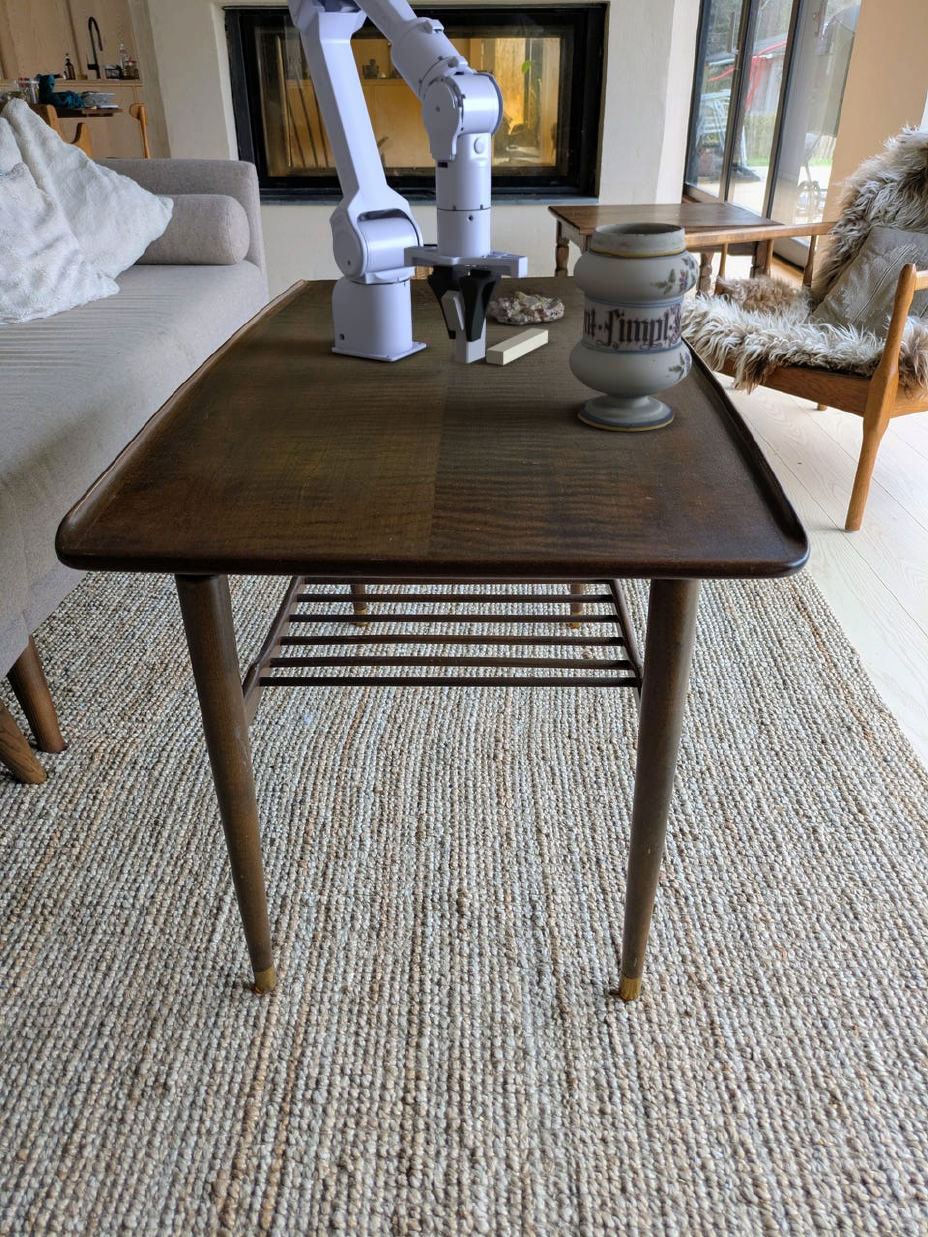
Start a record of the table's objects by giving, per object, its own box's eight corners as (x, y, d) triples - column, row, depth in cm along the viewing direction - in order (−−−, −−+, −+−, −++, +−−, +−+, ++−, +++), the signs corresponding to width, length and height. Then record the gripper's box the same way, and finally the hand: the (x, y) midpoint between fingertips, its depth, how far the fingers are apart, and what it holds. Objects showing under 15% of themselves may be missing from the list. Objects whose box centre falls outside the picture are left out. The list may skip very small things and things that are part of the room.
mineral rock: (495, 310, 123) (488, 282, 128) (492, 339, 126) (485, 310, 132) (572, 310, 124) (562, 282, 130) (568, 339, 127) (558, 310, 133)
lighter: (472, 354, 106) (474, 282, 102) (485, 356, 105) (487, 283, 101) (440, 366, 101) (440, 291, 97) (453, 368, 100) (454, 293, 96)
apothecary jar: (562, 397, 98) (571, 217, 89) (673, 397, 98) (694, 217, 88) (570, 435, 88) (580, 237, 78) (694, 436, 87) (720, 236, 78)
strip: (486, 362, 110) (486, 349, 109) (531, 340, 119) (531, 327, 118) (503, 365, 109) (503, 351, 108) (547, 342, 118) (548, 329, 117)
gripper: (385, 207, 95) (391, 338, 102) (505, 216, 89) (503, 355, 96) (421, 200, 100) (425, 325, 107) (538, 207, 94) (534, 340, 101)
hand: (464, 338), depth 102 cm, fingers closed on lighter, 2 cm apart
